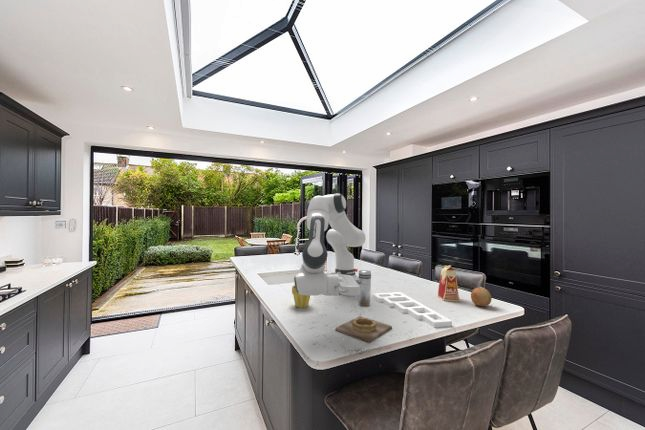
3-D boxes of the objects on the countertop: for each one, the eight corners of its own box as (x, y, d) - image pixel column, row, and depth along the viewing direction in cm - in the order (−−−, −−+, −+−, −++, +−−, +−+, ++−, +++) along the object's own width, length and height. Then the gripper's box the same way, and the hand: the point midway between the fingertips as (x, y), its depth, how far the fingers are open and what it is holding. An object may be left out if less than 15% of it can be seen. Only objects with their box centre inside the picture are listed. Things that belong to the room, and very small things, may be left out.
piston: (360, 302, 118) (361, 269, 118) (372, 304, 116) (372, 270, 116) (356, 305, 114) (356, 271, 114) (368, 307, 111) (369, 273, 111)
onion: (486, 310, 141) (487, 290, 141) (466, 305, 149) (467, 286, 149) (495, 307, 146) (495, 288, 146) (475, 302, 154) (475, 284, 154)
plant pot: (302, 310, 136) (302, 290, 136) (287, 305, 142) (287, 286, 142) (315, 305, 144) (316, 286, 144) (300, 301, 151) (301, 283, 151)
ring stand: (359, 318, 127) (360, 311, 127) (391, 328, 116) (392, 321, 116) (335, 330, 113) (335, 323, 113) (369, 342, 103) (369, 334, 103)
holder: (452, 327, 120) (452, 321, 120) (414, 330, 116) (415, 324, 116) (400, 296, 164) (400, 292, 164) (372, 298, 160) (372, 293, 160)
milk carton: (459, 301, 155) (460, 265, 155) (443, 301, 155) (443, 265, 155) (452, 296, 164) (453, 263, 164) (436, 296, 164) (437, 262, 164)
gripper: (336, 283, 104) (373, 283, 104) (331, 271, 124) (361, 272, 125) (336, 300, 103) (372, 300, 104) (331, 285, 124) (361, 286, 125)
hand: (366, 284), depth 115 cm, fingers closed on piston, 5 cm apart
